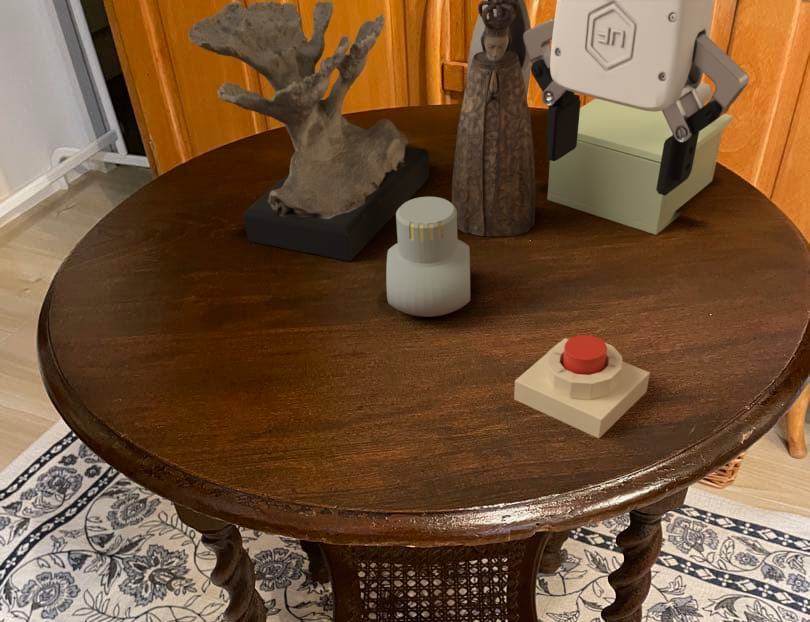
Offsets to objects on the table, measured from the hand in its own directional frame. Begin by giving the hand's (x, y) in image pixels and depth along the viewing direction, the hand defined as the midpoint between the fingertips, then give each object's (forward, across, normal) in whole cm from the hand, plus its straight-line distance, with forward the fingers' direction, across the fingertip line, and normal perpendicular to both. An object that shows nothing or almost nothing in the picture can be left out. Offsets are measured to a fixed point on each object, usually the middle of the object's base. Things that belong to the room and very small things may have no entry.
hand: (614, 170), depth 66 cm
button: (+16, +1, -3) cm, 16 cm away
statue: (+19, -24, +17) cm, 35 cm away
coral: (+20, -44, +7) cm, 49 cm away
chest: (+19, -15, +32) cm, 40 cm away
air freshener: (+20, -20, +1) cm, 28 cm away
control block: (+19, +1, -3) cm, 20 cm away
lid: (+11, -15, +32) cm, 37 cm away
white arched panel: (+19, -35, +32) cm, 52 cm away
